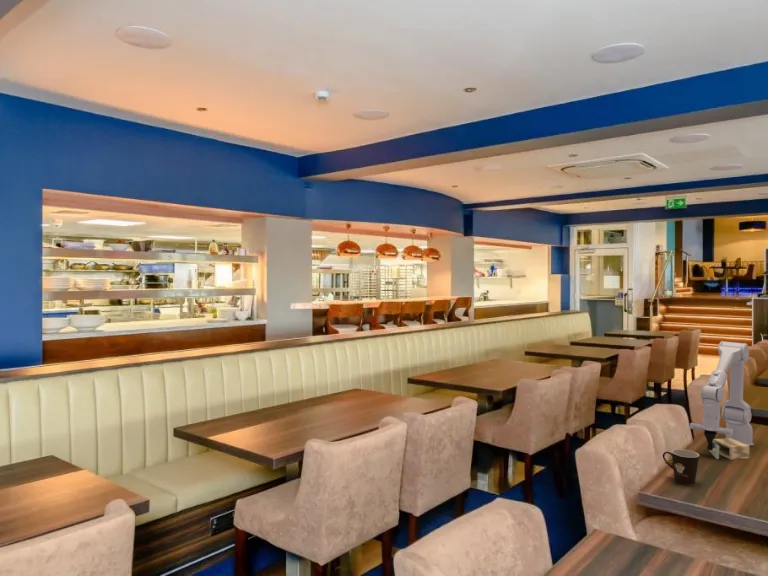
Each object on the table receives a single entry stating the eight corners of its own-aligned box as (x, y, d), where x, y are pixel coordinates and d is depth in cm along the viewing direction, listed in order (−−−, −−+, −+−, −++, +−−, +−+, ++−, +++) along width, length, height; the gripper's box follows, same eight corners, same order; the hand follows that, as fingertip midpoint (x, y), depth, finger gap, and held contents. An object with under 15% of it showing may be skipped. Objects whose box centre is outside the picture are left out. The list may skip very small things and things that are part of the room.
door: (711, 450, 234) (711, 438, 234) (718, 459, 224) (719, 446, 224) (706, 450, 235) (706, 438, 234) (713, 458, 225) (713, 445, 224)
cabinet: (729, 450, 235) (729, 438, 235) (749, 458, 226) (749, 445, 225) (712, 451, 234) (712, 439, 234) (731, 459, 224) (731, 447, 224)
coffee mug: (704, 485, 199) (705, 456, 199) (681, 486, 198) (682, 458, 197) (681, 472, 211) (682, 445, 210) (660, 474, 209) (660, 447, 209)
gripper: (688, 414, 229) (687, 448, 230) (730, 421, 220) (729, 456, 220) (692, 411, 234) (691, 443, 235) (733, 417, 225) (732, 451, 226)
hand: (710, 449), depth 228 cm, fingers closed, pressing on door
